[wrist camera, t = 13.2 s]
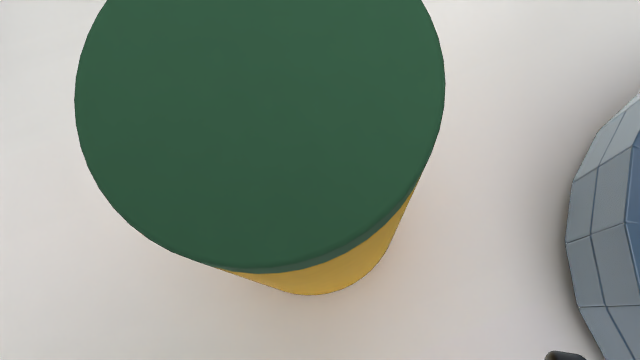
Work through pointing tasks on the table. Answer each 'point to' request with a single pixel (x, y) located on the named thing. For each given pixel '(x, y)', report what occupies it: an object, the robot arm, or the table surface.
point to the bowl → (609, 235)
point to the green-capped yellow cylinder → (262, 129)
